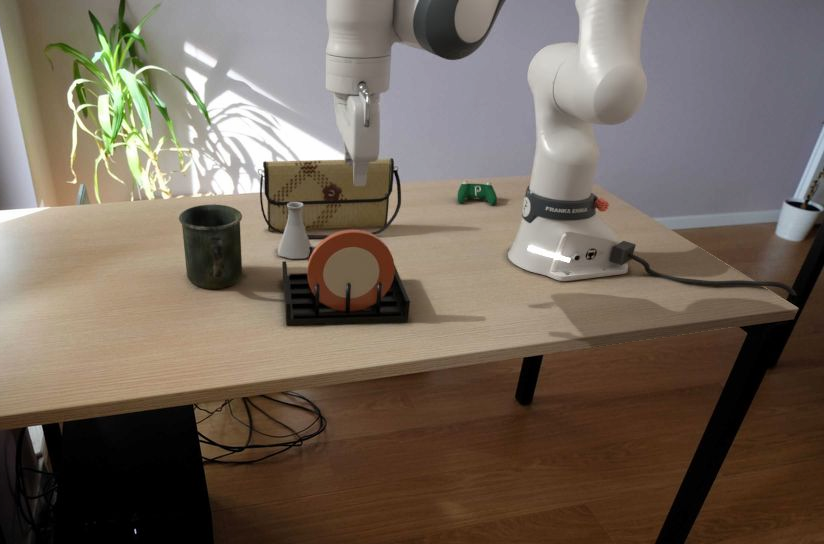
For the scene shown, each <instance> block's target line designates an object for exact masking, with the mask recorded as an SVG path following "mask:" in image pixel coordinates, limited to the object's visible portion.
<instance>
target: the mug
mask: <svg viewBox="0 0 824 544" xmlns="http://www.w3.org/2000/svg"><path fill="white" fill-rule="evenodd" d="M242 219H243V215H242V212H241V211H239V209H238V208H234V207H233V206H229V205H225V204H201V205H200V204H199V205H196V206H192V207H189V208H187V209H184V210H183V211H182V212H181V213H180V214H179V216H178V221H179V223H180V224H181V227H182V238H183V239H182V240H183V251H184V260H185V261H184V262H185V270H186V278H187V280H188V281H189V282H190V283H191V285H194V286H196V287H198V288H202V289H207V290H209V289H210V290H216V289H217V290H219V289H223V288H228V287H231V286H233V285H235V284H237V283H239V281H240V279H241V278H242V277H243V259H242V237H241V221H242Z"/></svg>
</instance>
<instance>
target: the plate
mask: <svg viewBox="0 0 824 544" xmlns="http://www.w3.org/2000/svg"><path fill="white" fill-rule="evenodd" d="M307 262H308V263H307V266H306V273H307V277H308V282H309V286H310V288H311V291H312V292H313V294H314V295H315V285H316V284H317V283H318V284H319V285H320V290H319V301H320V302H321V303H323V304H324V305H326V306H328V307H330V308H332V309H335V310H339V311H345V309H346V286H347V283H350V284H351V295H350V311H358V310H362V309H365V308H368V307H370V306H372V305H373V304H375V303H376V301H377V287H378V283H379V282H381V283H382V292H381V298H382V297H383V296H384V295H385V294H386V293H387V291H388V290H389V288H390V286H391V284H392V282H393V278H394V272H395V267H396V265H395V261H394V258H393V255H392V252H391V250H390V248H389V247H388V245H387V244H386V243H385V241H383V239H381V238H380V237H379V236H377V235H374V234H372V232H369V231H366V230H364V229H363V230H362V229H344V230H339V231H336V232H334V233H332V234H330V236H328V237H327V238H323V239H322V240H321V241H320V242H319V243H318V244H317V245H316V246H315V247H314V249H313V252H312V254H311V256H310V258H309V257H308V261H307Z"/></svg>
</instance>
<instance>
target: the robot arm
mask: <svg viewBox="0 0 824 544" xmlns="http://www.w3.org/2000/svg"><path fill="white" fill-rule="evenodd" d="M506 1H507V0H326V1H325V2H326V3H325V8H326V9H325V17H326V22H327V27H328V40H327V44H326V47H325V89H326V90H327V91H328V92H331V93H333V94H332V95H333V105H334V117H335V123H336V127H337V129H338V131H339V133H340V135H341V138H342V141H343V150H344V151H343V152H344V156H343V157H344V159H343V160H344V161H345V163H346V165H347V166H353V183H354V185H355V186H365V185H366V177H367V171H368V167H369V162H374V161H377V159H379V156H380V145H381V144H380V141H381V140H380V139H381V136H380V135H381V111H380V104H379V103H380V99H381V94H384V93H386V92H388V91H389V90H390V83H391V81H390V79H391V62H392V61H391V60H392V46H393V45H394V44H396V43H398V44H400V45H401V44H402V45H405V46H407V47H409V48H413V49H417V50H420V51H421V50H422V51H426V52H428V53H429V54H432V55H435V56H437V57H440V58H441V59H445V60H448V61H458V60H461V59H464V58H467V57H468V56H471V55H472V54H474V53H475V52H476V51H477V50H478V49H479V48H480V47H481V46H482V45H483V44H484V42H485V41H486V39H487V38H488V36H489V35H490V33H491V31H492V29H493V27H494V24H495V23H496V21H497V18H498V16H499V14H500V11H501V10H502V8H503V6H504V4H505V2H506ZM649 2H650V0H574V4H575V10H576V12H577V15H578V23H579V24H578V26H579V27H578V29H579V30H578V40H577V42H572V41H567V42H558V43H551V44H548V45H545V46H544V47H543V48H541V49H540V50H539V51H537V53H536V54H535V55H534V56H533V58H532V59H531V61H530V64H529V66H528V69H527V75H526V76H527V77H526V78H527V84H528V88H529V89H530V92H531V94H532V98H533V104H534V117H535V152H534V158H533V163H532V170H531V176H530V181H529V185H528V186H527V187H526V189H525V194H524V199H523V202H522V209H521V221H520V224H519V227H518V230H517V232H516V235H515V238H514V240H513V243H512V245H511V247H510V248H509V250H508V253H507V257H508V259H509V261H510V262H512V264H513V265H515V266H517V267H518V268H520V269H523V270H525V271H528V272H531V273H535V274H539V275H542V276H546V277H548V278H551V279H553V280H555V281H559V282H569V281H578V280H579V281H580V280H584V279H586V280H587V279H595V278H601V277H602V278H603V277H610V276H618V275H624V274H625V275H626V274H627V273H628V271H629V264H628V262H630V261H631V260H633V261H635V262H638V263H639V264H641V266H643V267H644V271H645V272H646V273H647V274H649V275H651V276H653V277H657V278H661V279H664V280H665V279H666V280H670V281H673V282H678V283H682V284H690V285H699V286H709V287H710V286H711V287H720V286H751V287H775V288H780V289H783V290H785V291H786V292H787V293H788V294H789V295H790V296H797V292H796V291H795V290H794V289H793V288H792V287H791V286H790V285H788V284H785V283H783V282H779V281H768V280H767V281H765V280H764V281H761V280H760V281H757V280H743V279H741V280H739V279H738V280H735V279H733V280H703V279H696V278H684V277H677V276H671V275H667V274H664V273H663V274H662V273H660V272H657V271H655V270H653V269H651V267H650V264H649V262H647V261H646V260H645V259H644V258H641V257H639V256H637V255H636V254H634V252H635V249H636V246H637V245H636V243H632V242H630V241H626V240H623V241H620V240H619V239H620V238H619V236H618V234H617V233H616V232H615V230H614V229H613V228H612V227H611V226H610V225H609V224H608V223H607V222H606V221H605V220H604V219H603V218H602V217H601V216H599V214H597V211H596V210H598V211H599V212H606V211H607V210H608V209H609V207H610V206H609V205H610V203H609V201H607V200H605V199H604V198H602V197H600V198H599V196H597V195H596V194H594V193H593V192H592V191H593V187H594V182H595V179H596V174H597V170H598V166H599V163H600V157H601V155H600V154H601V152H600V148H599V144H598V142H597V140H596V135H595V132H594V125H602V126H603V125H604V126H609V125H610V126H614V125H620V124H622V123H625V122H626V121H628V120H631V118H632V117H633V116H634V115H635V114H636V113H637V112H638V111H639V110H640V108H641V107H642V105H643V103H644V101H645V99H646V96H647V92H648V80H647V76H646V73H645V70H644V69H643V65H642V58H641V56H642V55H641V53H642V51H641V48H642V34H643V33H642V32H643V26H644V21H645V15H646V12H647V7H648V6H649V5H648V4H649Z"/></svg>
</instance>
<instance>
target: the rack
mask: <svg viewBox="0 0 824 544" xmlns="http://www.w3.org/2000/svg"><path fill="white" fill-rule="evenodd" d="M313 251H314V249H313V247H312V245H311V246H310V247H309V256H308V259H309V258H310V256H311V254H312V252H313ZM281 263H282V264H281V265H282V269H281V270H282V271H281V273H282V290H283V291H282V292H283V301H284V303H283V305H284V313H285V314H284V316H285V324H286V325H285V326H287V327H289V326H290V327H291V326H293V327H294V326H323V325H324V326H325V325H326V326H327V325H358V324H360V325H361V324H362V325H363V324H396V323H397V324H398V323H409V317H410V306H411V300H410V298H409V295H408V293H407V291H406V288H405V285H404V284H403V281H402V278H401V277H400V273H399V272H398V269H397V266H395V272H394V278H393V282H392V284H391V286H390V288H389V290H388V291H387V293H386V294H385V295H384V296H383V297H382V298H381V292H382V283H381V282H379V283H378V287H377V301H376V303H375V304H373V305H372V306H370V307H368V308H365V309H362V310H358V311H350V295H351V284H350V283H347V286H346V309H345V311H339V310H335V309H332V308H330V307H328V306H326V305H324V304H323V303H321V302H320V301H319V290H320V285H319V284H318V283H317V284H316V285H315V295H314V294H313V292H312V291H311V288H310V286H309V282H308V277H307V272H300V273H299V272H298V273H296V272H295V273H289V274H288V265H287V261H285V260H284V261H283V260H282V261H281Z"/></svg>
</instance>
